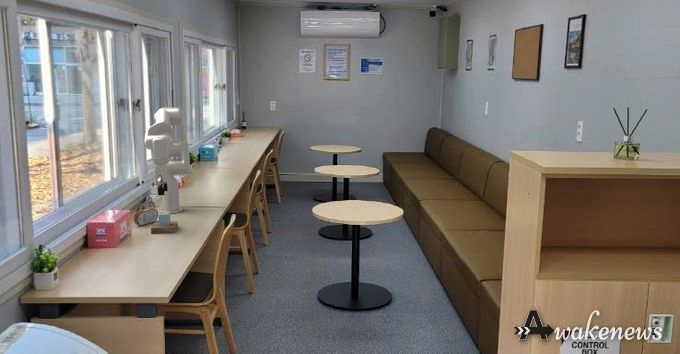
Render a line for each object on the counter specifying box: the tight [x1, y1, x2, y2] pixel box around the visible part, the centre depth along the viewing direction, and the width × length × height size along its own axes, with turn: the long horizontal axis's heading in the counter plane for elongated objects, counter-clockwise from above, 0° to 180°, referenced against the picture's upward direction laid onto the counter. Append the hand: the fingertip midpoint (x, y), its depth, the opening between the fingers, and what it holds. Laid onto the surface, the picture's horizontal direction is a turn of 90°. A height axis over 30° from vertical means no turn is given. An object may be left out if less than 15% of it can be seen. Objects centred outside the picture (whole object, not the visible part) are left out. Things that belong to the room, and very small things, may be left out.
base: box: [150, 220, 179, 235], centre depth 304 cm, size 12×12×3 cm
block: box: [158, 212, 171, 226], centre depth 303 cm, size 5×5×6 cm
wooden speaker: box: [133, 207, 159, 227], centre depth 316 cm, size 15×3×8 cm, turn 149°
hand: (162, 193), depth 300 cm, fingers open, 9 cm apart
